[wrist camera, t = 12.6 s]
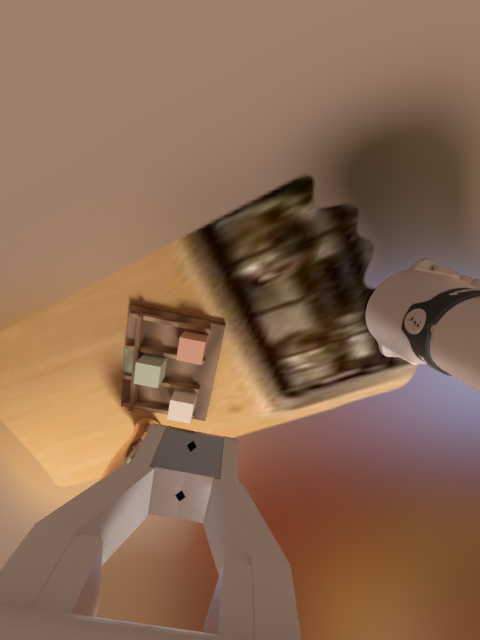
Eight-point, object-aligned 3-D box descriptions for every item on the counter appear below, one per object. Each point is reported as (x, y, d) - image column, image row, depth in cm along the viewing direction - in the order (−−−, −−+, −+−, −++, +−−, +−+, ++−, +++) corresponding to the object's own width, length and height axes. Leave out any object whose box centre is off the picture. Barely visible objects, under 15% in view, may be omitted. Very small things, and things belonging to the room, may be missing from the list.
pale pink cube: (197, 392, 49) (193, 404, 45) (194, 410, 51) (190, 423, 47) (175, 387, 49) (170, 399, 45) (173, 406, 50) (167, 419, 46)
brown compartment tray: (225, 324, 46) (224, 329, 43) (206, 417, 53) (203, 427, 49) (132, 304, 45) (124, 308, 42) (123, 401, 52) (116, 411, 49)
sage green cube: (167, 357, 47) (160, 367, 43) (164, 377, 48) (157, 388, 44) (144, 352, 47) (135, 362, 43) (142, 372, 48) (133, 383, 44)
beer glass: (128, 418, 53) (86, 482, 39) (158, 413, 52) (126, 476, 38) (139, 443, 55) (102, 513, 41) (168, 438, 54) (141, 507, 40)
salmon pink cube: (208, 334, 45) (205, 342, 42) (204, 355, 47) (201, 365, 43) (185, 329, 45) (179, 337, 41) (181, 350, 46) (176, 360, 43)
